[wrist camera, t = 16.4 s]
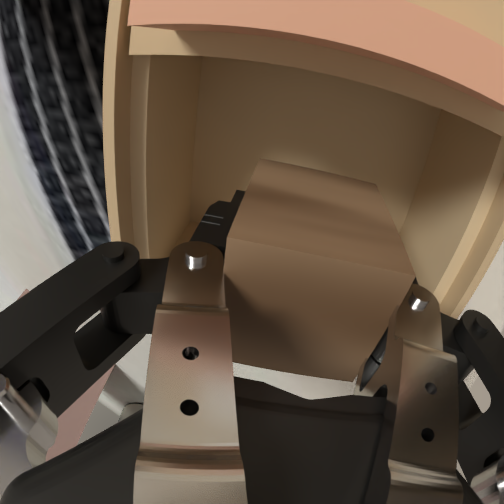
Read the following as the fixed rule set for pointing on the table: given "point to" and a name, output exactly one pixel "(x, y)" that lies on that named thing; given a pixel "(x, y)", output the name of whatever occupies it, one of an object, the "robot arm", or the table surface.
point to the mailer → (293, 154)
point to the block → (311, 272)
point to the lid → (348, 43)
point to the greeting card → (75, 416)
